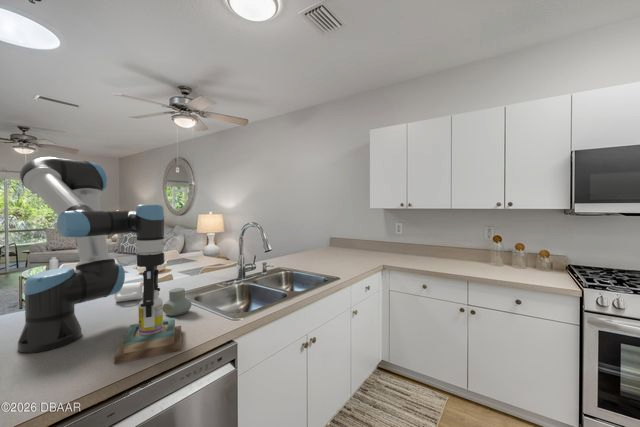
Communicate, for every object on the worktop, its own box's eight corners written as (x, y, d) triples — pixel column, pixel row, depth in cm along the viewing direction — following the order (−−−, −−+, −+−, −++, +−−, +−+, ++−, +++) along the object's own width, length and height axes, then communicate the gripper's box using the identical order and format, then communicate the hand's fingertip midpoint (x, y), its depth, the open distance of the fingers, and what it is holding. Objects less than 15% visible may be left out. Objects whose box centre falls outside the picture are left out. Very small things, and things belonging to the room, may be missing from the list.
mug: (118, 299, 134) (118, 282, 134) (142, 296, 138) (142, 280, 138) (112, 307, 123) (112, 289, 123) (138, 303, 128) (138, 286, 128)
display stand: (114, 363, 78) (114, 344, 78) (124, 341, 92) (123, 324, 92) (181, 350, 86) (181, 332, 86) (181, 331, 99) (181, 315, 99)
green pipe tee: (194, 312, 117) (194, 288, 117) (176, 319, 110) (176, 294, 110) (177, 308, 122) (177, 285, 122) (159, 314, 115) (159, 290, 115)
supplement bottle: (141, 329, 91) (141, 290, 90) (164, 325, 93) (164, 288, 93) (136, 338, 84) (135, 296, 84) (161, 334, 87) (160, 293, 86)
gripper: (161, 258, 79) (162, 331, 79) (166, 247, 101) (166, 304, 102) (130, 260, 75) (131, 337, 76) (141, 248, 98) (142, 307, 98)
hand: (151, 318), depth 89 cm, fingers open, 13 cm apart
